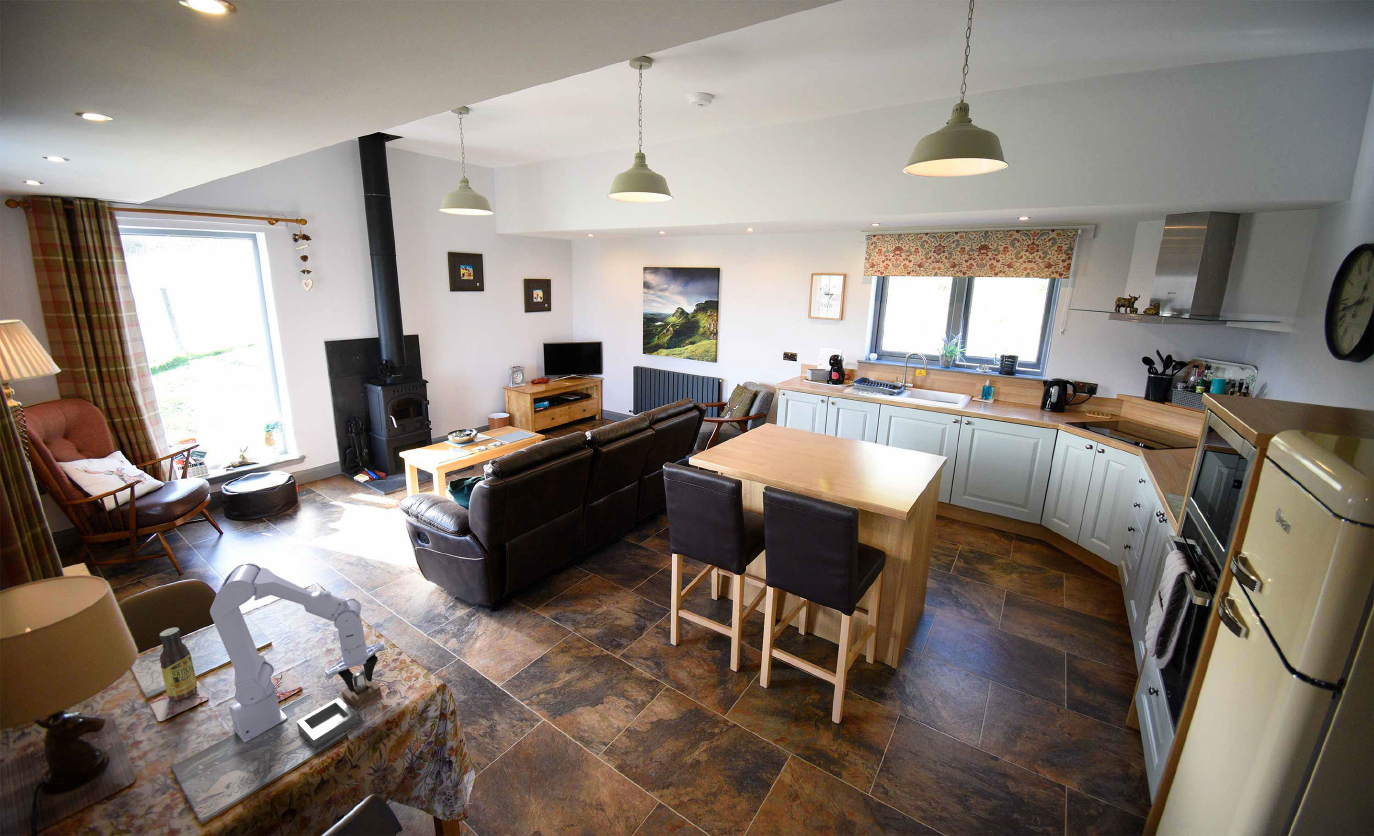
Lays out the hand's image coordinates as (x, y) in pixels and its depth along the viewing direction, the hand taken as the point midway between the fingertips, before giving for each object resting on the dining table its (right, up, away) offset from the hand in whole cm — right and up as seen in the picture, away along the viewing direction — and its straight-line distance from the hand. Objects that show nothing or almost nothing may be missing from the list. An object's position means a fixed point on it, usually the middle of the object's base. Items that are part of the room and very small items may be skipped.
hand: (360, 684), depth 152 cm
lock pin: (0, -3, +1) cm, 3 cm away
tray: (-2, -6, -10) cm, 12 cm away
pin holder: (0, -3, +1) cm, 3 cm away
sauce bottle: (-50, -3, +1) cm, 50 cm away
